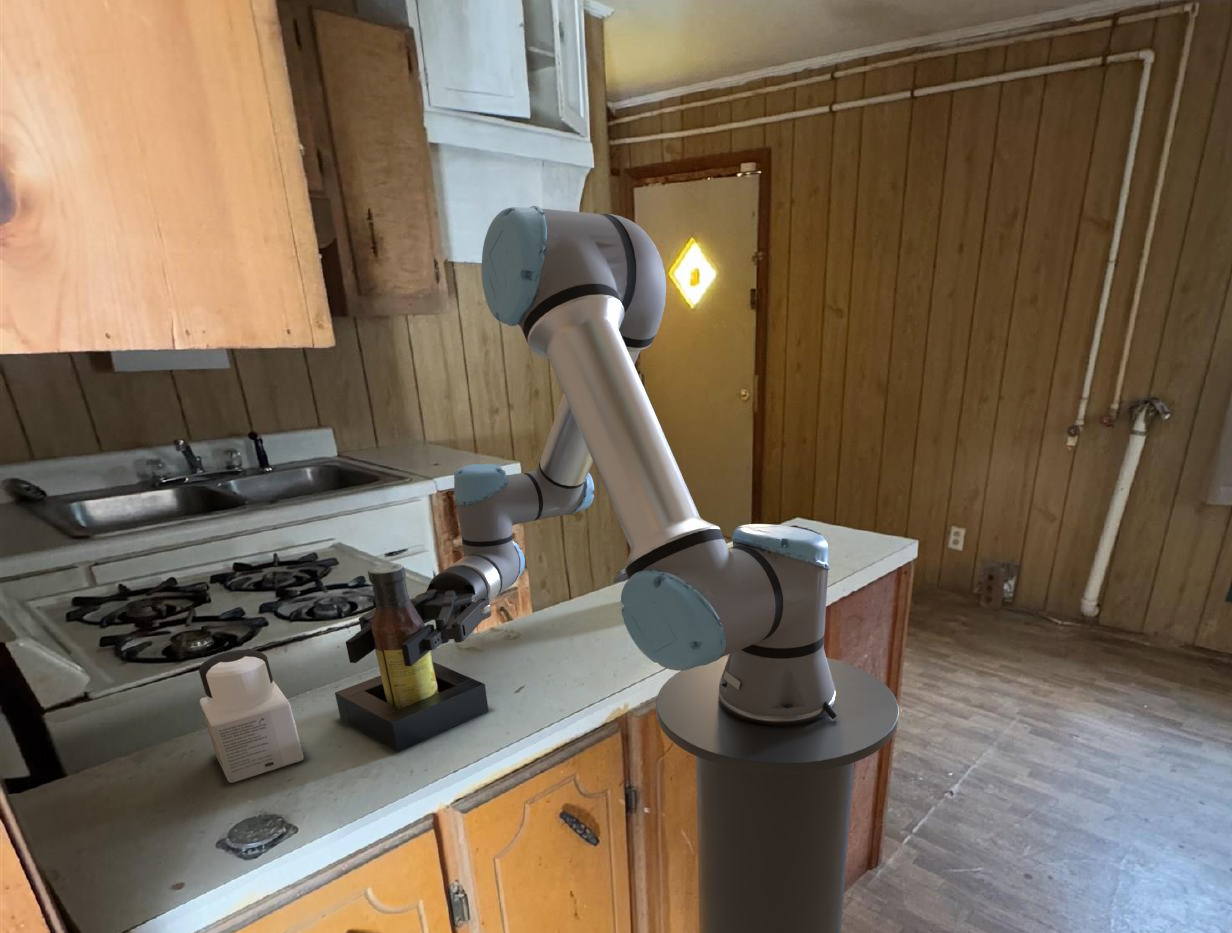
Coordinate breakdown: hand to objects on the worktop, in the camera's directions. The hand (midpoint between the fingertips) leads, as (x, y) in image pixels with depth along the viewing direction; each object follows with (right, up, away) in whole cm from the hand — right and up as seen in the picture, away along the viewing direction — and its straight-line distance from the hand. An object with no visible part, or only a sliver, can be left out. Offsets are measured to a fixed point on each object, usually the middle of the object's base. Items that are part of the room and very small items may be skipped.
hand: (378, 653), depth 91 cm
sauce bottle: (+1, -8, +9) cm, 12 cm away
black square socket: (+1, -8, +9) cm, 12 cm away
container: (-14, -12, 0) cm, 18 cm away
